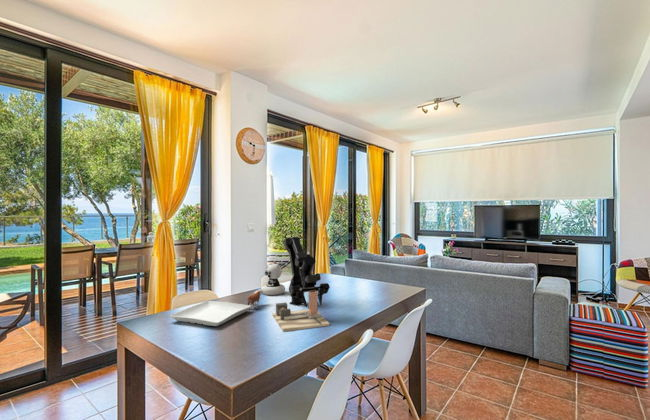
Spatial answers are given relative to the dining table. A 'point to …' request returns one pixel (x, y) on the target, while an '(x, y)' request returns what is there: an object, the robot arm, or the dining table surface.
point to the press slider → (311, 313)
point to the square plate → (210, 313)
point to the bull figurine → (254, 298)
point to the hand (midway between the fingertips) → (313, 305)
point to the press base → (297, 320)
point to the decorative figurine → (273, 280)
